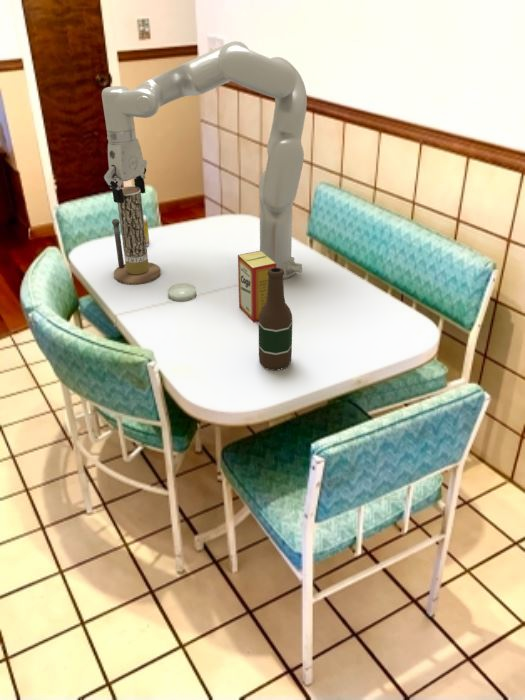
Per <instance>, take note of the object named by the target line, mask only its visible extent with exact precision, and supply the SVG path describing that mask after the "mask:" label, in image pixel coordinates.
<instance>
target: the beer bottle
mask: <svg viewBox="0 0 525 700" xmlns="http://www.w3.org/2000/svg"><path fill="white" fill-rule="evenodd" d="M267 275H268V276H269V277H268V292H267V300H266V304H265V305H264V306H263V308H262V309H261V312H260V314H259V321H258V362H259V363H260V364H261V365H262V367H263V368H264V369H266V368H268V369H267V370H271V369H274V370H273V371H279V370H278V369H280V370H282V369H281V368H284V369H286V368H285V367H287V368H288V366H289V365H290V363H291V361H292V357H293V356H292V354H293V353H292V351H293V349H292V348H293V314H292V311H291V308H290V307H289V305H287V303H286V300H285V287H284V279H283V275H284V270H282V269H281V268H276V267H275V268H270V269H269V270H268V273H267Z"/></svg>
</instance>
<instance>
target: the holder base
mask: <svg viewBox="0 0 525 700" xmlns="http://www.w3.org/2000/svg"><path fill="white" fill-rule="evenodd" d="M111 224H112V226H113V232H114V239H115V241H114V242H115V248H116V255H117V263H118V267H116V268H115V269H114V270H113V277H114V278H113V279H114V280H115V281H116V282H118V283H120V284H123V285H129V286H131V285H133V286H136V285H143V284H148V283H151V282H154V281H156V280H157V279H159V278H160V277H161V273H162V272H161V267H160V266H159V265H158V264H155V263H153V262H149V261H148V265H149V269H148V271H147V272H146V273H143V274H139V275H133V274H130V273H128V272H127V270H126V263H125V260H124V255H123V254H124V252H123V244H122V239H121V238H122V237H121V229H120V219H118V218H113V219H112V221H111Z"/></svg>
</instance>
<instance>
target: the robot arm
mask: <svg viewBox="0 0 525 700" xmlns="http://www.w3.org/2000/svg"><path fill="white" fill-rule="evenodd" d="M230 82H232V83H234V84H236V85H239V86H240V87H243V88H246V89H249V90H251V91H254V92H256V93H259V94H261V95H264V96H267V97H270V98H274V110H273V111H274V112H273V119H272V122H271V123H272V124H271V130H270V133H269V138H268V142H267V145H266V147H267V148H266V150H267V151H266V153H267V160H266V161H267V162H266V167H265V170H264V171H263V172H262V174H261V176H260V178H259V181H258V194H259V195H258V196H259V251H261V252H263V253H264V254H265V255H266V256H267V257H269V258H270V259H271V260H272V261H274V262H275V263H276V268H281V269H282V270H284V275H283V280H285V279H288V278H290V277H292V276H294V275H296V273H298V274H302V272H303V264H302V263H300V262H299V263H298V262H295V257H294V256H292V247H293V246H292V241H293V240H292V239H293V238H292V237H293V234H292V233H293V204H294V202H295V200H296V196H297V194H298V188H299V184H300V179H301V175H302V170H303V166H304V159H305V156H304V155H305V154H304V147H303V144H302V138H303V137H302V136H303V130H304V127H305V119H306V114H307V107H308V106H307V104H308V102H307V101H308V99H307V97H308V96H307V90H306V89H307V88H306V86H305V83H304V81H303V78H302V75H301V74H300V73H299V70H297V69H296V68H295V66H294V65H293V64H292V63H291V62H290V61H288V60H287V59H285V58H283V57H280V56H276V57H275V56H273V57H271V58H270V57H268V56H265V55H263V54H261V53H258V52H255V51H253V50H251V49H250V48H248V46H247V45H246V44H245V43H244V42H241V41H236V40H235V41H234V40H233V41H231V42H227V43H225V44H223V45H222V46H219V47H216V48H215V49H212V50H210V51H208V52H206V53H204V54H202V55H200V56H198V57H195V58H193V59H191V60H187V61H186V62H184V63H182V64H180V65H178V66H177V67H174V68H172V69H168V70H167V71H164V72H161V73H159V74H158V75H155V76H153V77H152V78H149V79H147V80H145V81H143V82H142V83H140V84H139V85H137V86H136V87H135V88H133V89H129V87H126V86H121V85H120V86H119V85H118V86H117V85H116V86H115V85H114V86H108V87H104V88H103V89H102V91H101V99H102V107H103V114H104V120H105V126H106V127H105V128H106V134H107V137H106V139H107V140H108V143H107V162H108V170H107V171H106V173H105V174H104V176H103V178H104V181H105V182H106V185H107V186H108V187H109V188H110V189H111V191H112V198H113V202H114V203H117V204H118V203H124V198H123V191H122V189H120V188H122V184H123V182H129V181H131V180H133V182H134V187H138V188H140V191H141V194H146V185H145V184H146V183H145V179H146V172H147V165H148V160H145V159H144V157H143V153H142V148H141V144H140V142H139V141H140V140H139V139H138V138H137V133H136V128H135V127H136V126H135V125H136V124H135V119H134V118H135V117H136V118H143V119H148V118H152V117H153V116H155V115H156V114H158V111H159V109H160V108H161V107H163V106H165V105H167V104H169V103H171V102H174V101H176V100H178V99H180V98H184V97H190V96H191V97H193V96H200V95H201V96H202V95H203V94H204V95H205V94H206V93H207V92H210V91H211V90H212V91H213V90H215V89H216V88H219V87H220V86H224V85H225V84H228V83H230ZM116 182H117V183H116Z"/></svg>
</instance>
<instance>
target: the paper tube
mask: <svg viewBox="0 0 525 700" xmlns="http://www.w3.org/2000/svg"><path fill="white" fill-rule="evenodd" d="M120 189H122V191H123V198H124V203H117V208H118V217H119V222H120V224H119V226H120V234H121V238H122V239H121V242H122V249H123V254H124V255H123V257H124V264H126V270H127V272H128V273H130V274H133V275H139V274H143V273H146V272H147V271H148V269H149V265H148V262H149V255H148V248H147V247H148V246H147V245H146V236H145V227H144V218H143V215H144V209H142V208H143V202H142V201H143V200H142V193H141V191H140V188H138V187H135V186H121V188H120Z"/></svg>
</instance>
